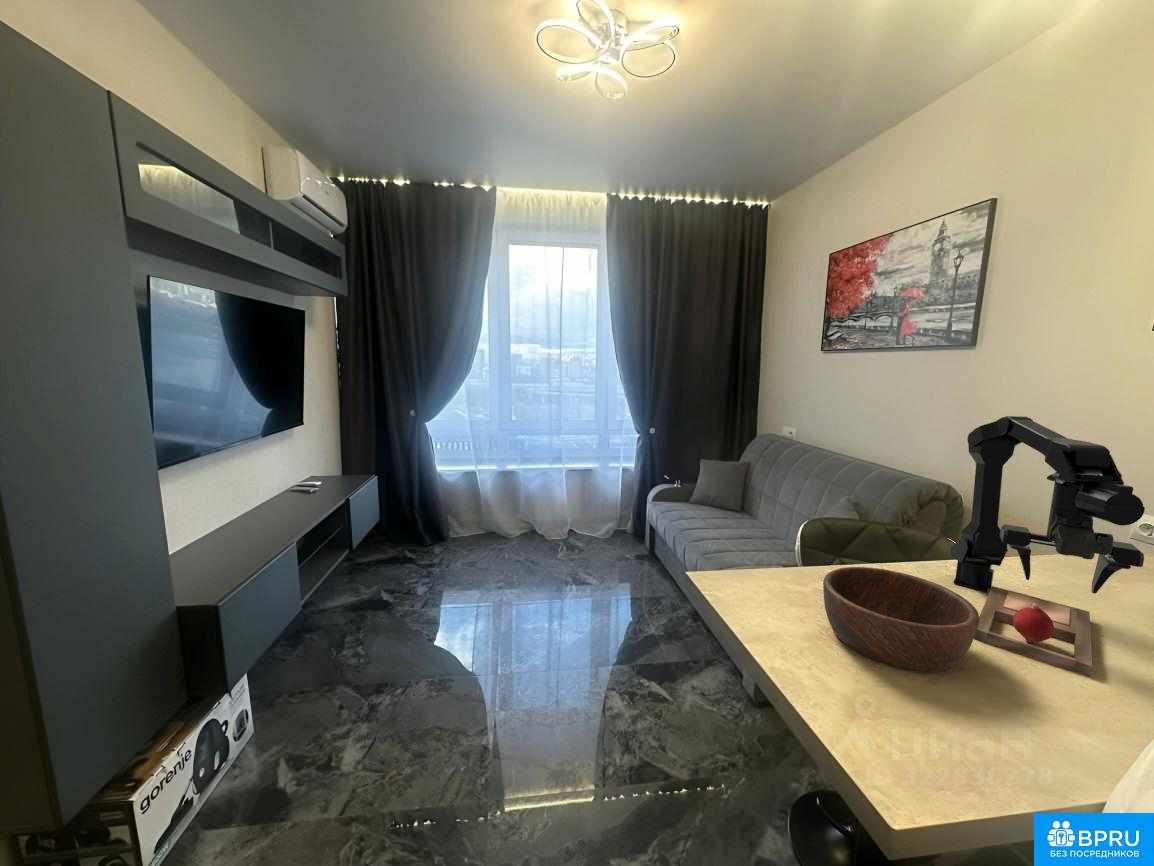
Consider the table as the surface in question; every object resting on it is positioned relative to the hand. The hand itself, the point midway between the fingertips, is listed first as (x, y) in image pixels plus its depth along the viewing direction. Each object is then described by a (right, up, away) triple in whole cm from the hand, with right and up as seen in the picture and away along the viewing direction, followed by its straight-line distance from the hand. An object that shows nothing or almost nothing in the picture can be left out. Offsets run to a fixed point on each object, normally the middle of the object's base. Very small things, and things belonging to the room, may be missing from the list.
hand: (1059, 585), depth 92 cm
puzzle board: (+1, -11, +6) cm, 12 cm away
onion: (-5, -12, +1) cm, 13 cm away
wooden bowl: (-33, -12, +1) cm, 35 cm away
